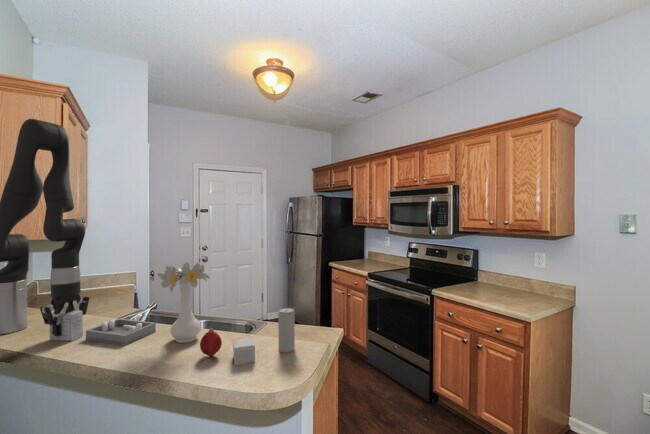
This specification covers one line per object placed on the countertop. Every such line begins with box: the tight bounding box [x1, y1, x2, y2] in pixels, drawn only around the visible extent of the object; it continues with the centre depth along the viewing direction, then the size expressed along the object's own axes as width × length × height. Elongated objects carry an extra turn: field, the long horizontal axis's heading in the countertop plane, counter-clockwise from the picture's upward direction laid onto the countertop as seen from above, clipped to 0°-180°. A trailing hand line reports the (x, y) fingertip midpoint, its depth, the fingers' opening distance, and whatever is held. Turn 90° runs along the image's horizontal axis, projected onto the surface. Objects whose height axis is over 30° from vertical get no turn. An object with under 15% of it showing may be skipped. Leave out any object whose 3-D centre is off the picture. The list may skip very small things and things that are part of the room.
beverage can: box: [277, 307, 296, 354], centre depth 96 cm, size 5×5×12 cm
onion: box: [199, 328, 223, 358], centre depth 92 cm, size 6×6×8 cm
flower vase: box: [157, 261, 211, 344], centre depth 104 cm, size 13×18×25 cm
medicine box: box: [49, 311, 84, 342], centre depth 105 cm, size 8×4×9 cm, turn 84°
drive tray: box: [85, 318, 157, 346], centre depth 107 cm, size 16×12×4 cm
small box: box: [232, 337, 256, 366], centre depth 90 cm, size 6×6×5 cm
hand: (66, 332), depth 105 cm, fingers closed on medicine box, 5 cm apart
